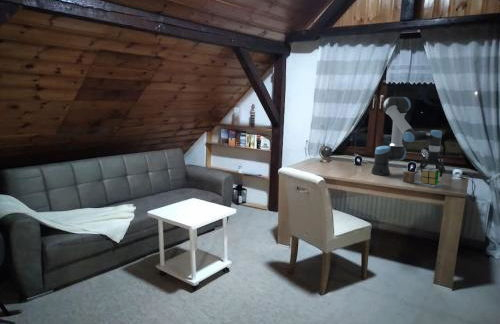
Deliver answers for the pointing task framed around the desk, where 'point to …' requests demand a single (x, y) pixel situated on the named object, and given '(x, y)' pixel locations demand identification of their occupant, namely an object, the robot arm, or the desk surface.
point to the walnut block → (408, 177)
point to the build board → (430, 184)
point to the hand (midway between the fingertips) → (430, 179)
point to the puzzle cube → (430, 176)
